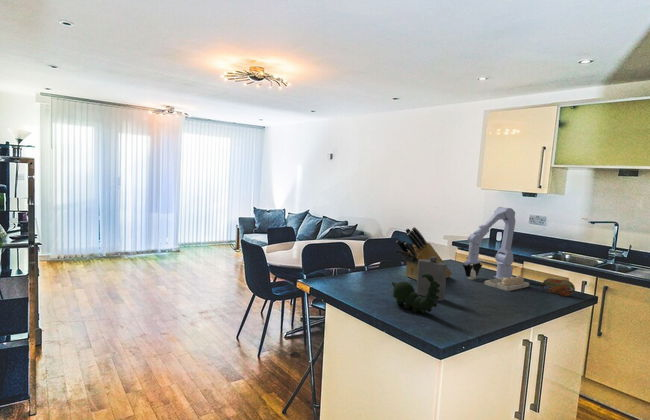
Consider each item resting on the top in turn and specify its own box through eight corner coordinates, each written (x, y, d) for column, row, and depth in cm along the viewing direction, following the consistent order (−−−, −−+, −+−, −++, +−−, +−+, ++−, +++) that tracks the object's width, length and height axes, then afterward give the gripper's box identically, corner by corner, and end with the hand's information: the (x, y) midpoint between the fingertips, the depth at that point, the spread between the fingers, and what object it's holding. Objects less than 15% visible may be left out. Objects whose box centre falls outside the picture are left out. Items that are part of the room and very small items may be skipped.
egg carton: (504, 281, 233) (505, 277, 233) (528, 287, 221) (529, 282, 221) (484, 285, 221) (484, 280, 221) (508, 292, 209) (508, 287, 209)
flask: (447, 299, 190) (450, 259, 188) (441, 301, 186) (444, 260, 184) (420, 292, 200) (423, 253, 199) (414, 293, 196) (416, 255, 195)
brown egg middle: (510, 285, 221) (511, 275, 221) (518, 287, 218) (519, 277, 217) (506, 286, 219) (507, 276, 218) (514, 288, 215) (514, 278, 215)
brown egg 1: (504, 286, 217) (505, 276, 217) (511, 288, 214) (512, 278, 213) (499, 287, 215) (500, 277, 214) (507, 289, 211) (508, 279, 211)
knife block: (392, 277, 228) (395, 225, 226) (439, 273, 243) (442, 225, 241) (403, 282, 218) (407, 227, 216) (451, 278, 233) (455, 227, 230)
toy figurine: (439, 318, 166) (396, 297, 186) (446, 276, 164) (401, 259, 183) (425, 322, 161) (382, 300, 180) (432, 279, 158) (387, 261, 177)
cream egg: (470, 277, 238) (471, 268, 238) (476, 279, 234) (477, 269, 234) (466, 278, 236) (466, 268, 235) (472, 280, 232) (473, 270, 232)
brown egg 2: (517, 284, 225) (518, 274, 225) (524, 286, 221) (525, 276, 221) (513, 284, 222) (513, 275, 222) (520, 286, 219) (521, 276, 218)
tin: (541, 292, 212) (543, 277, 211) (541, 291, 215) (542, 276, 214) (574, 297, 205) (575, 282, 204) (573, 296, 208) (575, 280, 207)
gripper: (474, 251, 241) (473, 273, 242) (460, 253, 233) (458, 275, 234) (485, 254, 235) (483, 276, 236) (470, 255, 227) (468, 278, 228)
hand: (471, 276), depth 235 cm, fingers open, 7 cm apart
